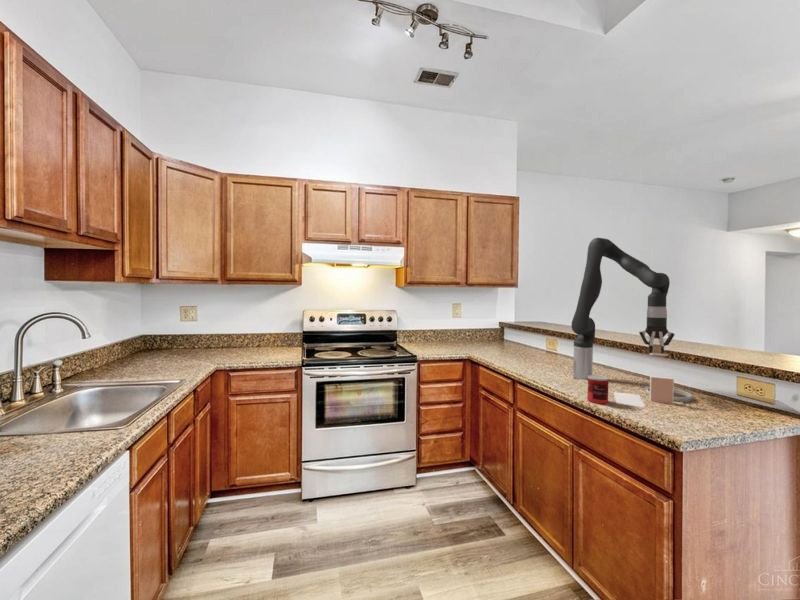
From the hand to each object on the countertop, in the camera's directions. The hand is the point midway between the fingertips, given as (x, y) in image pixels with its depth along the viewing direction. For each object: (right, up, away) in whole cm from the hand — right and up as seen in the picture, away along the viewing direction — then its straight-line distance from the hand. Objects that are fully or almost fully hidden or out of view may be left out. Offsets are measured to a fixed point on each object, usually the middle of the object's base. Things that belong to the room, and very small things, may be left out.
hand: (656, 353), depth 167 cm
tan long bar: (-1, -1, -2) cm, 3 cm away
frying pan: (+3, -19, +2) cm, 20 cm away
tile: (-7, -19, -13) cm, 24 cm away
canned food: (-33, -19, -12) cm, 40 cm away
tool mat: (-18, -19, -9) cm, 28 cm away
